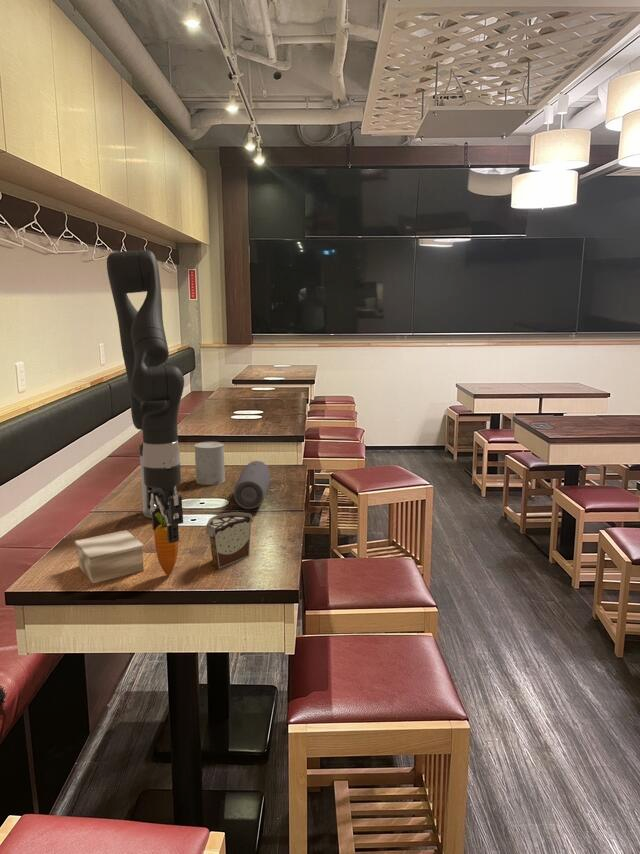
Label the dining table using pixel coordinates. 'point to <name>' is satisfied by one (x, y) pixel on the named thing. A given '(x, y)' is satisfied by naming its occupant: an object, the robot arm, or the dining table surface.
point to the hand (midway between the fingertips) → (165, 535)
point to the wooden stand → (110, 556)
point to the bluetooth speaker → (252, 485)
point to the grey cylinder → (209, 463)
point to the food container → (229, 537)
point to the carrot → (165, 546)
